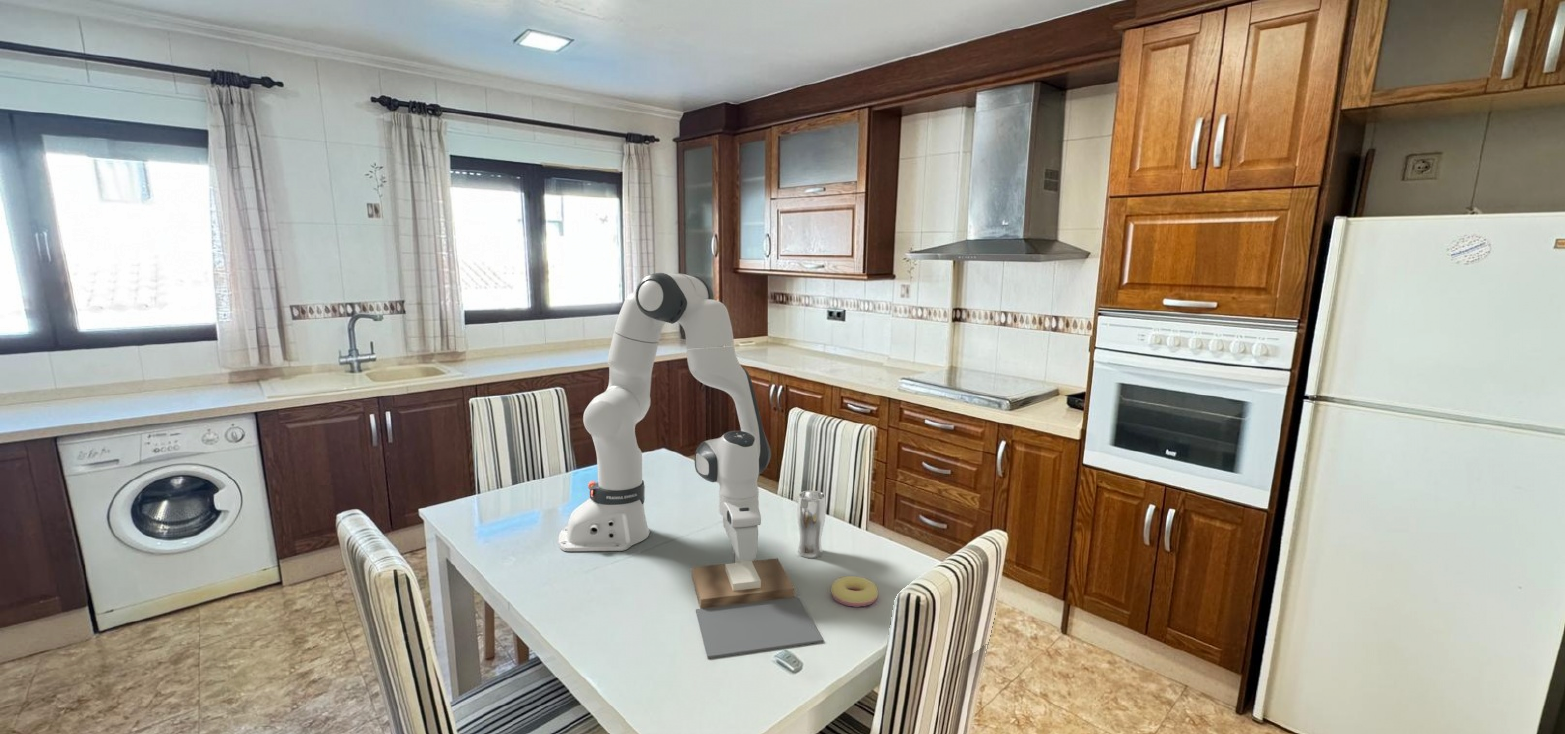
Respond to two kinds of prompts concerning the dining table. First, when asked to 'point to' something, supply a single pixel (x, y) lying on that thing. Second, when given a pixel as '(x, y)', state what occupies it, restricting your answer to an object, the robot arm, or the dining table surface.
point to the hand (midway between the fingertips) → (738, 561)
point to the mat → (756, 627)
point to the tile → (742, 576)
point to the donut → (854, 591)
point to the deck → (719, 592)
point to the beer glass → (811, 522)
